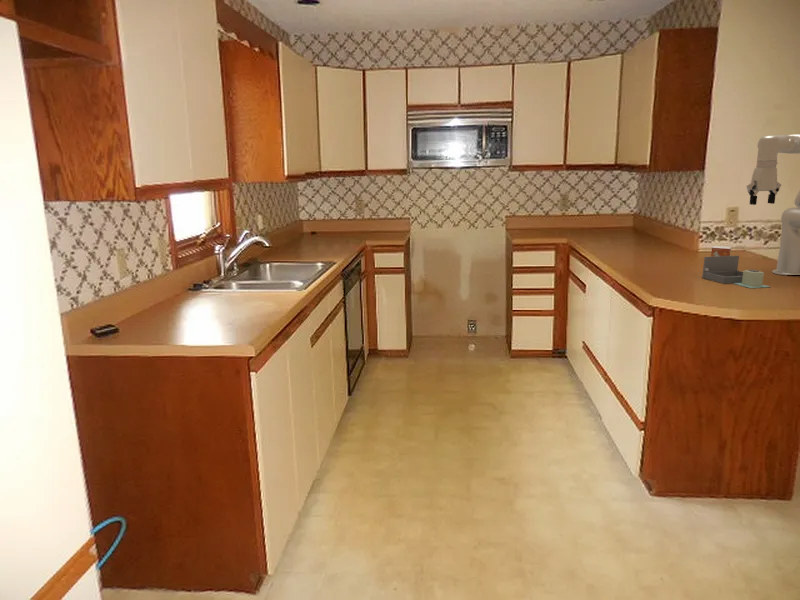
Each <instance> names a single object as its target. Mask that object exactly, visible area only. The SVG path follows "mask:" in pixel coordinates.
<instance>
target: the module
mask: <svg viewBox="0 0 800 600" xmlns="http://www.w3.org/2000/svg"><path fill="white" fill-rule="evenodd" d="M742 272H743V278H742V284H744V285H748V286H752V287H753V286H762V285H763V283H764V275H765V273H764V272H763V271H760V270H756V269H747V270H743V271H742Z"/></svg>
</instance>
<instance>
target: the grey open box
mask: <svg viewBox="0 0 800 600" xmlns="http://www.w3.org/2000/svg"><path fill="white" fill-rule="evenodd" d="M703 260H704V261H703V267H702V268H703V269H702V277H701V279H704V280H708V281H712V282H716V283H720V284H723V285H729V284H733V283H742V278H743V271H741V270H738V269H739V268H738V267H739V260H740V255H738V254H737V255H730V256H713V257H711V256H704V259H703Z"/></svg>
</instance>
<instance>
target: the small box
mask: <svg viewBox="0 0 800 600" xmlns="http://www.w3.org/2000/svg"><path fill="white" fill-rule="evenodd" d="M731 250H732V247H731V246H721V245H720V246H719V245H718V246H716V245H712V248H711V253H710V257H713V256H731V253H732V252H731Z"/></svg>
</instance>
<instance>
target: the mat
mask: <svg viewBox="0 0 800 600" xmlns="http://www.w3.org/2000/svg"><path fill="white" fill-rule="evenodd" d="M732 284H733V285H736V286H739V287H744V288H748V289H766V288H768V289H769V288H771V286H769V285H765V284H762V286H753V287H752V286H748V285H744V284H742V283H732Z"/></svg>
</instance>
